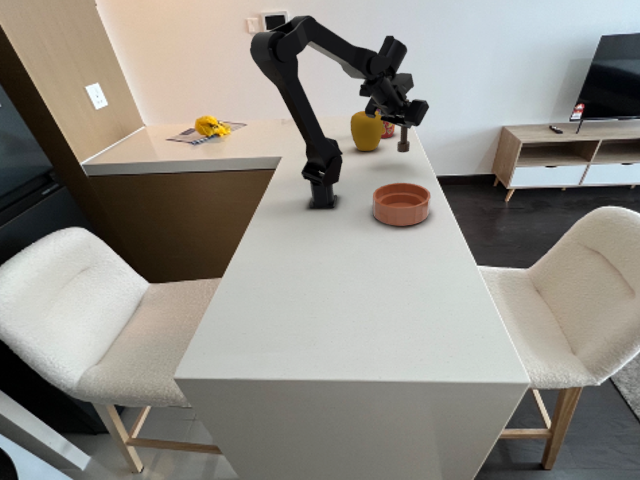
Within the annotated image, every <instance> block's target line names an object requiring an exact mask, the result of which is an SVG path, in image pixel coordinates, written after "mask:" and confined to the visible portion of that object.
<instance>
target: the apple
mask: <svg viewBox="0 0 640 480" xmlns="http://www.w3.org/2000/svg"><path fill="white" fill-rule="evenodd" d="M378 113H379V112H378V111H376V112H375V115H376V117H375V119H374V118H369V117H367V115H366V114H365V110H361V111H357V112H355V113H354V114H353V115H351V118H350V122H349V123H350V124H349V125H350V134H351V137H352V140H353V142H354V145H355V147H356V149H357V150H358V151H362V152H364V151H365V152H369V151H374V150H376V149H377V147H378V146H379V144H380V142H381V141H382V140H381V139H382V138H381V136H382V130H383V121H381V120H380V118H381V115H378Z"/></svg>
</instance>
